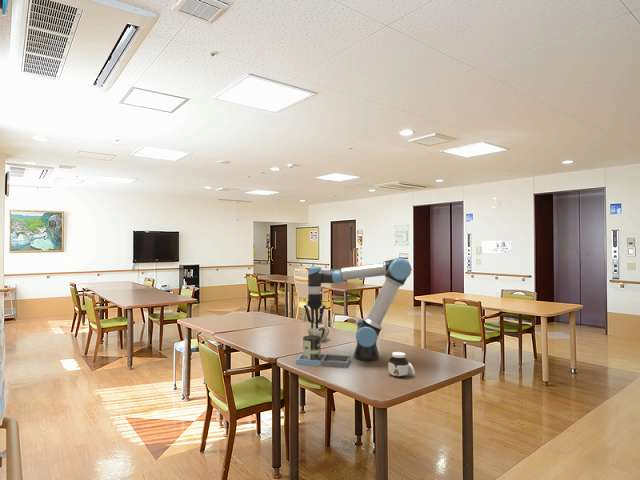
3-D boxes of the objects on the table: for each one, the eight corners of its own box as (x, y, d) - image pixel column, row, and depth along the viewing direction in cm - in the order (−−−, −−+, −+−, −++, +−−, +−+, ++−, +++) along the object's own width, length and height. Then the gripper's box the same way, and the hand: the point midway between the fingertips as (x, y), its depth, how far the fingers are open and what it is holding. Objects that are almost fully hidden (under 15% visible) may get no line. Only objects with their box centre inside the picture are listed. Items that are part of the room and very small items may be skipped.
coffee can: (322, 359, 243) (322, 335, 244) (318, 364, 233) (318, 339, 234) (305, 358, 246) (305, 334, 246) (300, 363, 235) (301, 338, 236)
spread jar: (386, 375, 217) (386, 352, 217) (398, 370, 224) (398, 349, 225) (405, 380, 208) (405, 357, 208) (417, 376, 216) (418, 353, 216)
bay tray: (350, 360, 243) (350, 355, 243) (347, 368, 228) (347, 363, 228) (302, 357, 248) (302, 352, 248) (296, 364, 234) (296, 359, 234)
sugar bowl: (333, 342, 287) (334, 321, 287) (313, 344, 281) (314, 322, 282) (322, 336, 305) (323, 316, 305) (303, 338, 300) (304, 317, 300)
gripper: (326, 292, 243) (327, 333, 243) (305, 292, 246) (305, 332, 245) (324, 294, 236) (324, 336, 236) (302, 294, 238) (302, 335, 238)
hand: (314, 334), depth 240 cm, fingers closed
